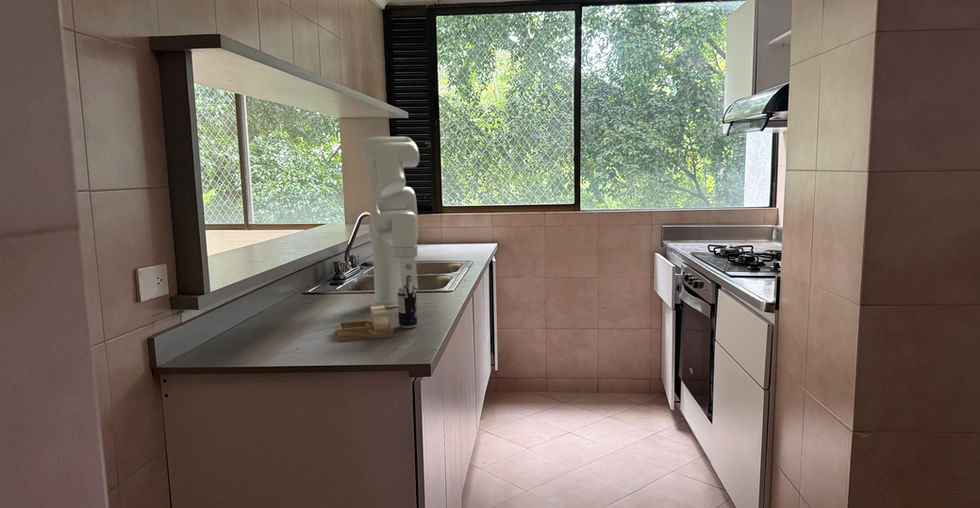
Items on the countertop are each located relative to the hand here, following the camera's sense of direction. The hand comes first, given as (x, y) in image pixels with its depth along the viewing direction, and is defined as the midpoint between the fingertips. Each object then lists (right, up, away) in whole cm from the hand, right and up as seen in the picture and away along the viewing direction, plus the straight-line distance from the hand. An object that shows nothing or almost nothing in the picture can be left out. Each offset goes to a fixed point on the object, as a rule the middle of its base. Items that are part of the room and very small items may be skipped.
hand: (407, 307), depth 200 cm
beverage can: (0, -6, +1) cm, 6 cm away
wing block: (-8, -6, -5) cm, 11 cm away
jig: (-12, -7, -6) cm, 16 cm away
